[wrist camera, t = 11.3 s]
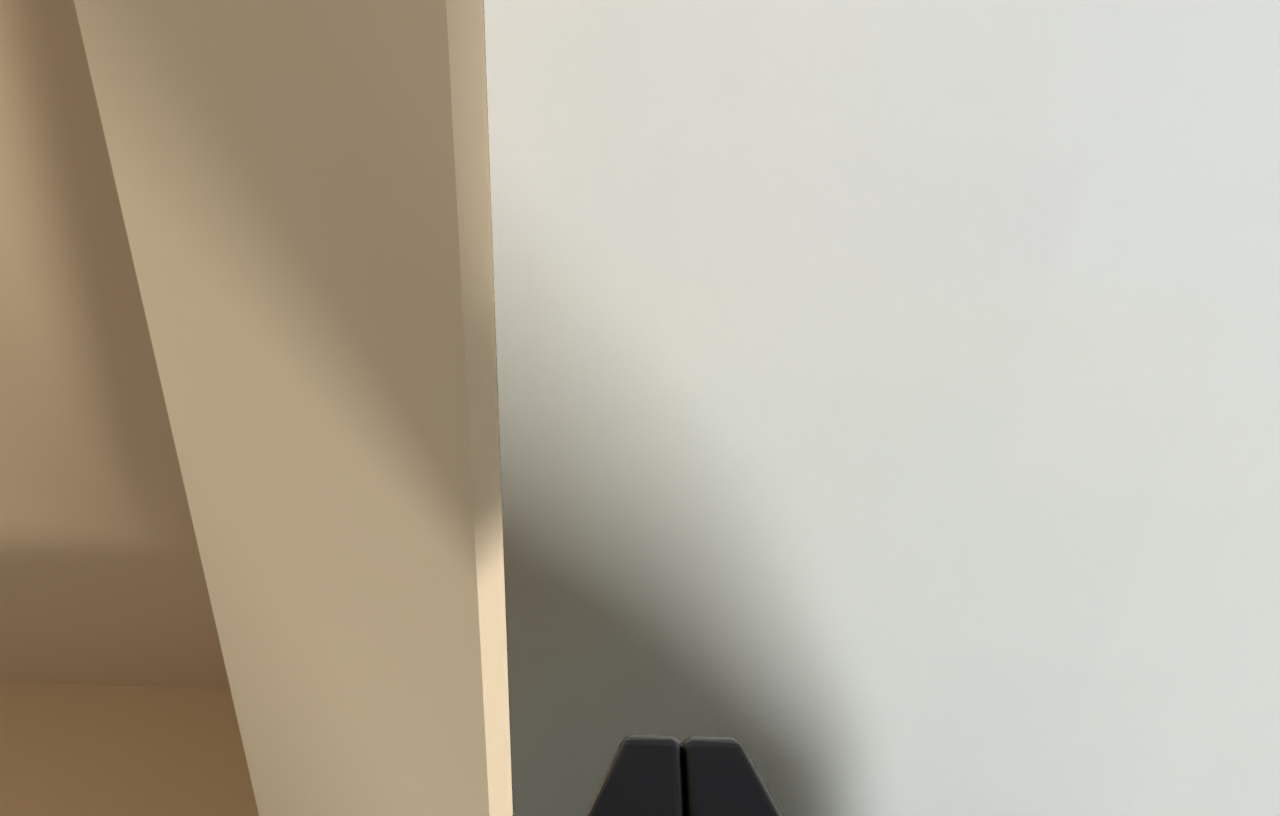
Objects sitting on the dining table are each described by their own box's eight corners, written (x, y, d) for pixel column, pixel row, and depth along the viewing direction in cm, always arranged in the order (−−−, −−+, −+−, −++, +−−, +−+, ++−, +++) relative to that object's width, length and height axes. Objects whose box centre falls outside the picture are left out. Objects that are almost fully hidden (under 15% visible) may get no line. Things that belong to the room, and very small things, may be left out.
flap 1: (-29, -651, 8) (457, -711, 5) (297, 888, 17) (522, 1102, 15) (-77, -658, 7) (407, -722, 5) (278, 902, 17) (505, 1122, 15)
